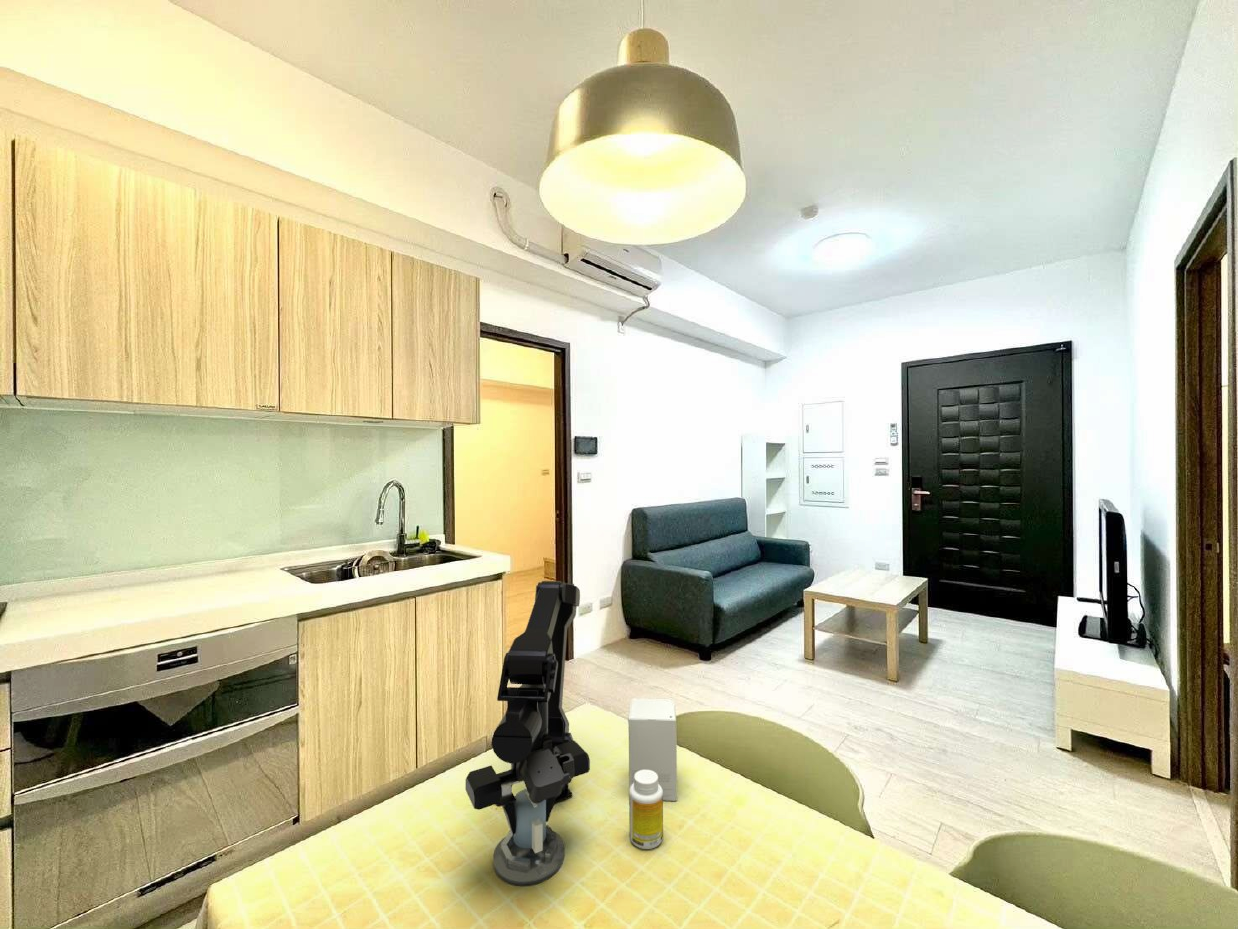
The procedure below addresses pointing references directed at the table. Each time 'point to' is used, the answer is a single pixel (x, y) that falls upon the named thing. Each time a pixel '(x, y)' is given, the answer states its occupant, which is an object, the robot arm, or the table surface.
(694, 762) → the table surface
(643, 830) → the supplement bottle
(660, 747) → the supplement box
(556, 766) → the robot arm
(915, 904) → the table surface
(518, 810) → the knob
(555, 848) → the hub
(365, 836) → the table surface
